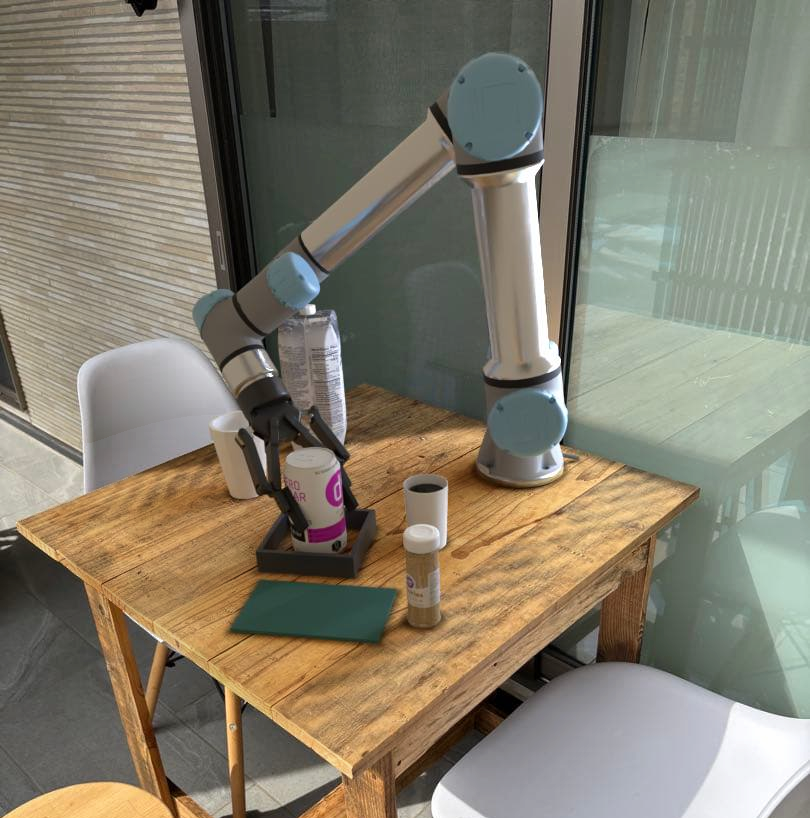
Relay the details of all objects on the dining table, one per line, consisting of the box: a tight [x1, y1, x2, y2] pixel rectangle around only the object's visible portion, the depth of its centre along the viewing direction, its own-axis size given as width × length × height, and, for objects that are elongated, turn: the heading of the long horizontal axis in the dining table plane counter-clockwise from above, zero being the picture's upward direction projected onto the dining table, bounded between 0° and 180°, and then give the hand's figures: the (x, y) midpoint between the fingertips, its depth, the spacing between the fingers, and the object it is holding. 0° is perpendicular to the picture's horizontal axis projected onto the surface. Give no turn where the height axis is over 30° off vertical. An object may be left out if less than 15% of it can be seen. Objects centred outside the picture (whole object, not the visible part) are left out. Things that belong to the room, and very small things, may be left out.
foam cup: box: [208, 410, 267, 500], centre depth 144 cm, size 10×9×13 cm
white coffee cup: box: [402, 473, 449, 551], centre depth 127 cm, size 7×7×10 cm
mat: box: [229, 579, 398, 645], centre depth 115 cm, size 20×12×1 cm, turn 79°
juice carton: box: [276, 303, 348, 452], centre depth 155 cm, size 9×10×27 cm
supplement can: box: [282, 447, 348, 554], centre depth 125 cm, size 8×8×15 cm
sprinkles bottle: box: [402, 524, 442, 629], centre depth 109 cm, size 5×5×13 cm
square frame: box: [254, 507, 378, 579], centre depth 128 cm, size 15×15×4 cm
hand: (329, 519), depth 124 cm, fingers closed on supplement can, 8 cm apart
